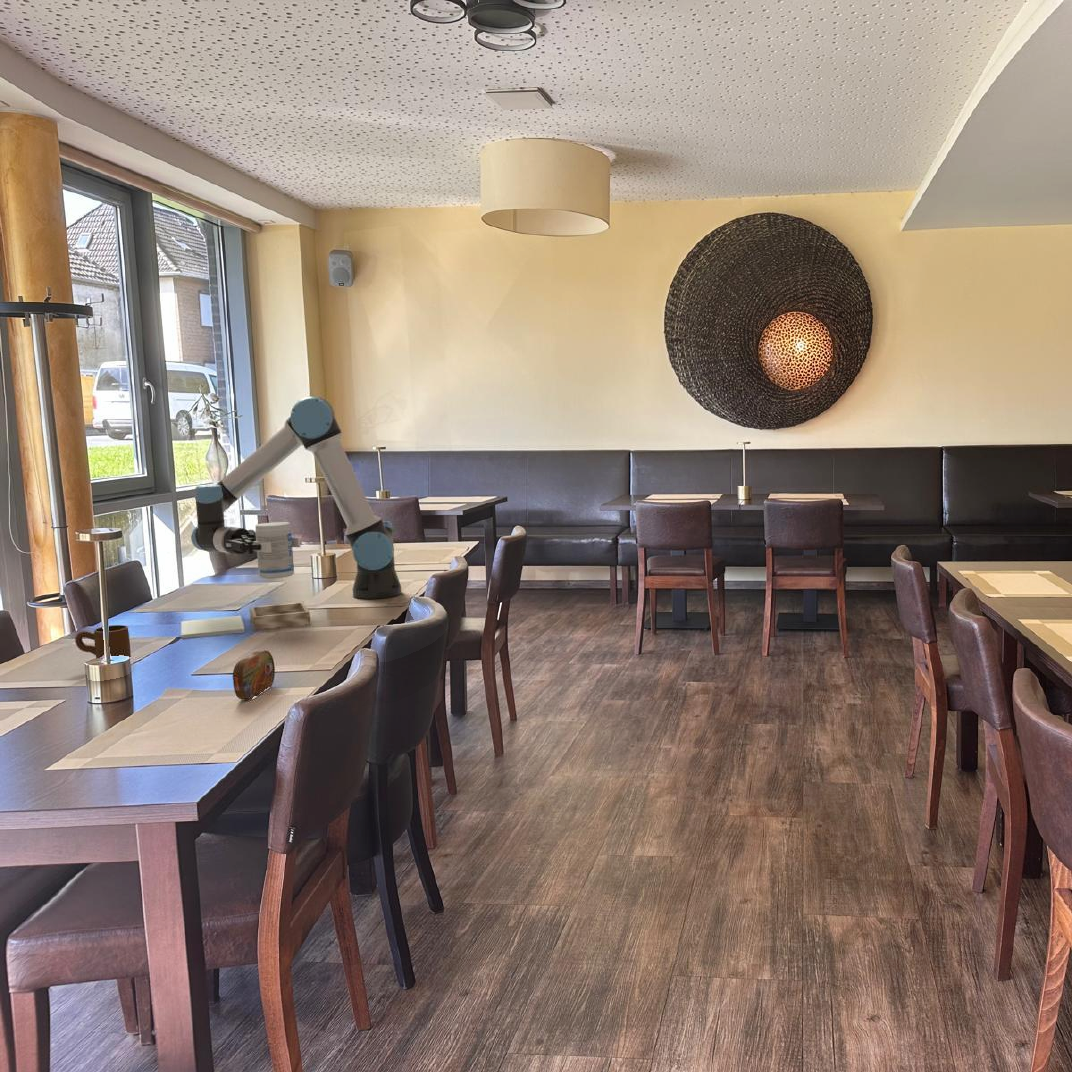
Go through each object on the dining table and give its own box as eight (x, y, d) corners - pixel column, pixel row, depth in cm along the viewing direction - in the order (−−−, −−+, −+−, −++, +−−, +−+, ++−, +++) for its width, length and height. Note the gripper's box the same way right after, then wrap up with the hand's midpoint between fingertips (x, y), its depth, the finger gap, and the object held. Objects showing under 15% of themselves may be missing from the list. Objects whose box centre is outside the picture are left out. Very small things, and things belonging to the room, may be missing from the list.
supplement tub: (299, 576, 283) (295, 523, 281) (265, 580, 277) (261, 526, 275) (286, 572, 291) (283, 520, 289) (254, 576, 285) (250, 523, 283)
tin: (246, 704, 208) (243, 664, 207) (231, 704, 209) (228, 664, 207) (277, 684, 223) (274, 646, 222) (263, 683, 223) (261, 646, 222)
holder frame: (304, 614, 295) (303, 602, 295) (310, 624, 281) (309, 611, 281) (250, 619, 290) (249, 607, 290) (253, 630, 276) (252, 617, 276)
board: (241, 619, 291) (241, 615, 291) (244, 632, 274) (244, 628, 274) (181, 624, 286) (181, 621, 286) (181, 638, 269) (181, 634, 269)
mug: (72, 674, 237) (69, 634, 236) (83, 665, 244) (79, 627, 243) (126, 670, 238) (123, 631, 237) (135, 662, 246) (132, 623, 244)
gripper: (265, 548, 303) (316, 552, 289) (201, 559, 285) (253, 564, 272) (263, 522, 302) (314, 526, 288) (199, 532, 284) (251, 536, 271)
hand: (284, 545), depth 280 cm, fingers closed on supplement tub, 9 cm apart
